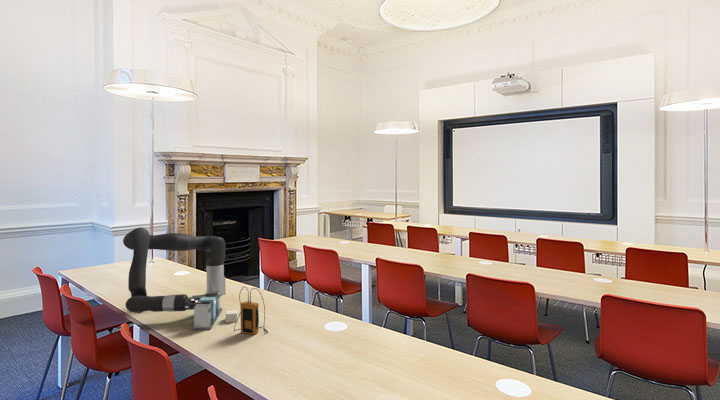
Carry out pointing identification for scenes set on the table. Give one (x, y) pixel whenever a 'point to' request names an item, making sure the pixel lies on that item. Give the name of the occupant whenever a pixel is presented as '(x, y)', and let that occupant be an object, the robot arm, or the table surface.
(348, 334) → the table surface
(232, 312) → the block
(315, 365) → the table surface
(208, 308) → the grey u-shaped metal stand
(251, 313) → the multimeter
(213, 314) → the block
